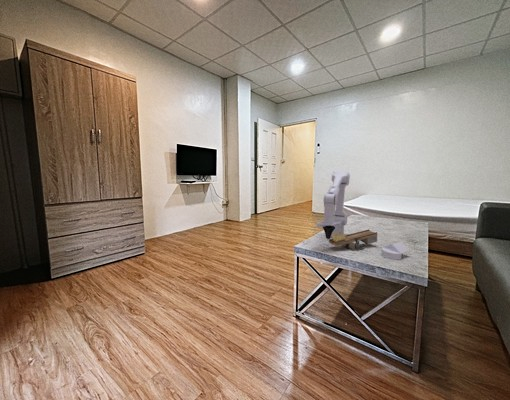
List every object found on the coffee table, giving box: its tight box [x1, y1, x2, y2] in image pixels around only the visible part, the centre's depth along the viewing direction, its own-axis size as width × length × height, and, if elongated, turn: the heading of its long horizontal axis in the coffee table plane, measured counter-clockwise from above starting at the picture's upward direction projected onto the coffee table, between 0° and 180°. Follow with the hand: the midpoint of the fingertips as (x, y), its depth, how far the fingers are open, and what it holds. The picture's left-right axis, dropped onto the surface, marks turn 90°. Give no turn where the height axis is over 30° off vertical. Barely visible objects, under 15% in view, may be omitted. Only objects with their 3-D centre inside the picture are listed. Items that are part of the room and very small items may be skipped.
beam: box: [328, 229, 378, 247], centre depth 125 cm, size 6×29×6 cm, turn 106°
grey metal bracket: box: [341, 234, 365, 252], centre depth 125 cm, size 10×8×6 cm
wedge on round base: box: [380, 241, 410, 261], centre depth 113 cm, size 9×7×13 cm
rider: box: [331, 232, 346, 243], centre depth 121 cm, size 4×6×4 cm, turn 107°
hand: (327, 238), depth 119 cm, fingers closed
